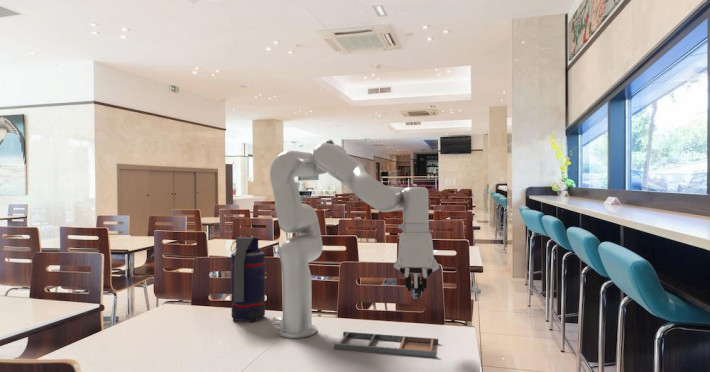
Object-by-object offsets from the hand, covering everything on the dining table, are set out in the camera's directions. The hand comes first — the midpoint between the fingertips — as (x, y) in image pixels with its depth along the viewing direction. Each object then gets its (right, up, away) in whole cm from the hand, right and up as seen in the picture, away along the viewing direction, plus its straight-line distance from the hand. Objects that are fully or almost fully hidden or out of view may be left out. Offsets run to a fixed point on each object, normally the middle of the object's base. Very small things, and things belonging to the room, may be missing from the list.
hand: (416, 289), depth 129 cm
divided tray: (-9, -18, +2) cm, 20 cm away
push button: (0, -2, 0) cm, 2 cm away
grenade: (-57, -18, +30) cm, 67 cm away
